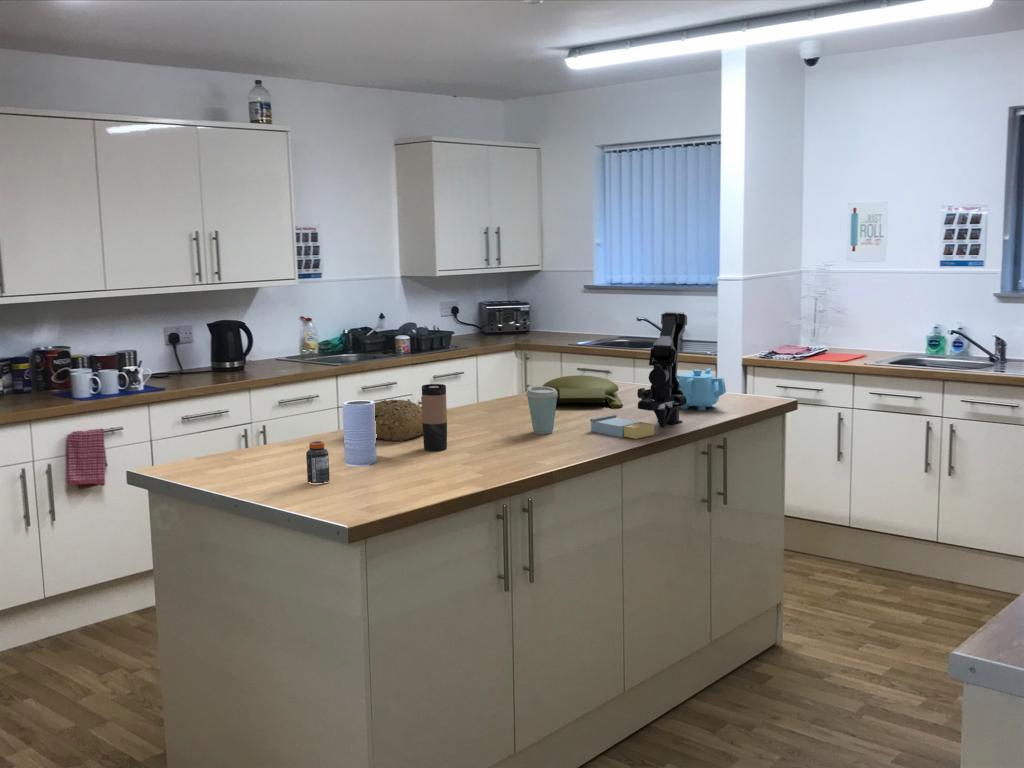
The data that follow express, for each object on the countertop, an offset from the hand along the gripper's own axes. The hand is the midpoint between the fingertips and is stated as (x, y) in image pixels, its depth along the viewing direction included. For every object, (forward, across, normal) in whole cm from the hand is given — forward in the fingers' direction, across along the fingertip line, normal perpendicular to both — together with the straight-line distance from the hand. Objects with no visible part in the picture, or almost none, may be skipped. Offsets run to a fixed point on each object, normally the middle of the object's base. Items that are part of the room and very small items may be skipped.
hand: (662, 427), depth 334 cm
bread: (+2, +68, -60) cm, 90 cm away
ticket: (+1, +12, -10) cm, 15 cm away
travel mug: (+2, +70, -32) cm, 77 cm away
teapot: (+2, -44, -20) cm, 49 cm away
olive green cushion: (+2, -22, -61) cm, 65 cm away
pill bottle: (+2, +118, -21) cm, 120 cm away
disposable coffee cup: (+2, +30, -27) cm, 40 cm away
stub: (+1, +12, 0) cm, 12 cm away
